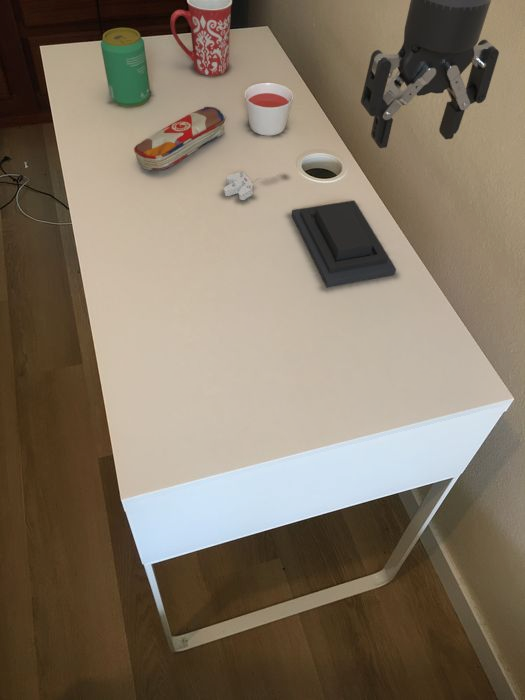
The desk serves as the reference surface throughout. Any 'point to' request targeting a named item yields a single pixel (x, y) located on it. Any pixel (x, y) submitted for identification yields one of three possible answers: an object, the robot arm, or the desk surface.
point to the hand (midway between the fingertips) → (413, 140)
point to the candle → (268, 107)
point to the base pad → (345, 269)
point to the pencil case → (180, 139)
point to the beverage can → (125, 66)
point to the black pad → (343, 232)
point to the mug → (207, 34)
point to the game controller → (239, 185)
